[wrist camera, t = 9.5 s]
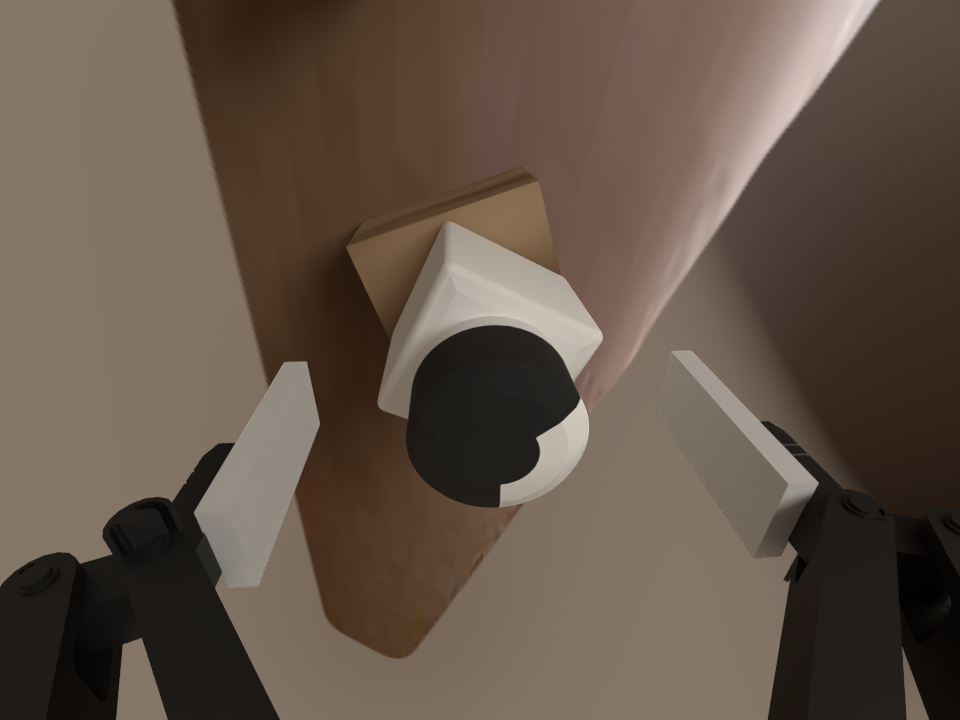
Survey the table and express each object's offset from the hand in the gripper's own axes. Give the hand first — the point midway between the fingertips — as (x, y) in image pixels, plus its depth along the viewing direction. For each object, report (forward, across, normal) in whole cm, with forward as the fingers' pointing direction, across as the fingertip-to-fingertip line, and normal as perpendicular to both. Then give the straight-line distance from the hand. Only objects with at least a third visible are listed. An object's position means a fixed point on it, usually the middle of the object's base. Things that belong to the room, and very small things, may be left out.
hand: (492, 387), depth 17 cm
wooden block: (+15, 0, -1) cm, 15 cm away
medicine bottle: (+9, 0, -1) cm, 9 cm away
